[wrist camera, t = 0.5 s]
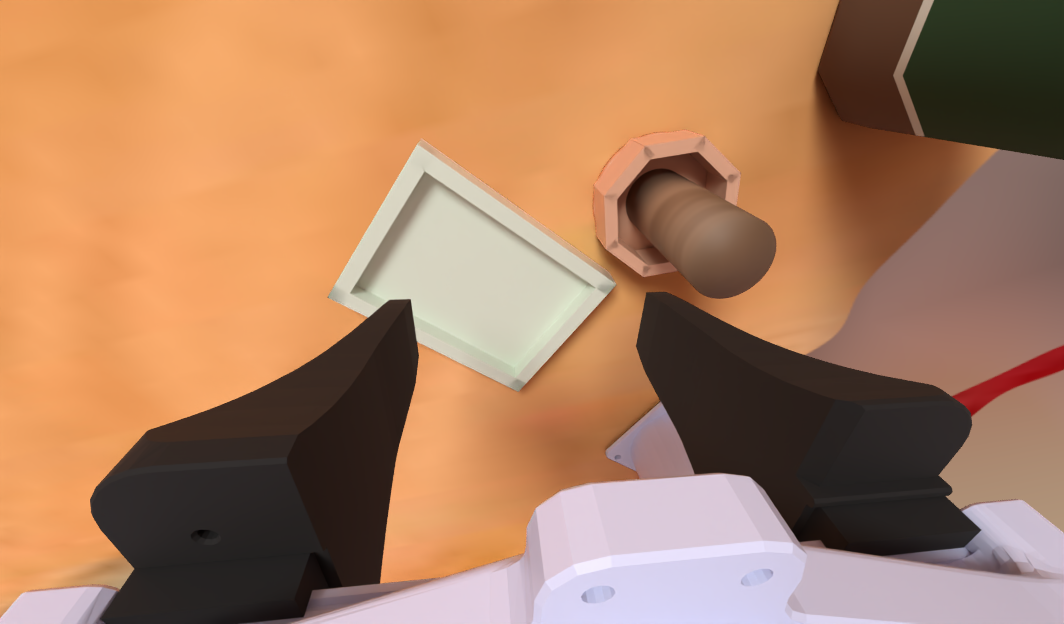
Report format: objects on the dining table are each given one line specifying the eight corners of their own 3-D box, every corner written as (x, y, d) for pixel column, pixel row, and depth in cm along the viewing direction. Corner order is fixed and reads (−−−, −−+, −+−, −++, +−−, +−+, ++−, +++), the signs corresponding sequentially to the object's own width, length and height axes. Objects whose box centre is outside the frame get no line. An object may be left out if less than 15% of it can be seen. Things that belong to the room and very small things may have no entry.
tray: (608, 271, 24) (616, 284, 22) (516, 375, 27) (518, 391, 25) (421, 138, 19) (417, 144, 18) (336, 282, 22) (327, 297, 21)
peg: (698, 193, 21) (793, 249, 15) (654, 241, 22) (725, 312, 16) (657, 154, 20) (740, 197, 14) (612, 207, 21) (671, 270, 15)
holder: (736, 183, 22) (764, 196, 20) (650, 274, 24) (667, 295, 22) (654, 101, 19) (676, 106, 17) (567, 212, 21) (577, 228, 19)
